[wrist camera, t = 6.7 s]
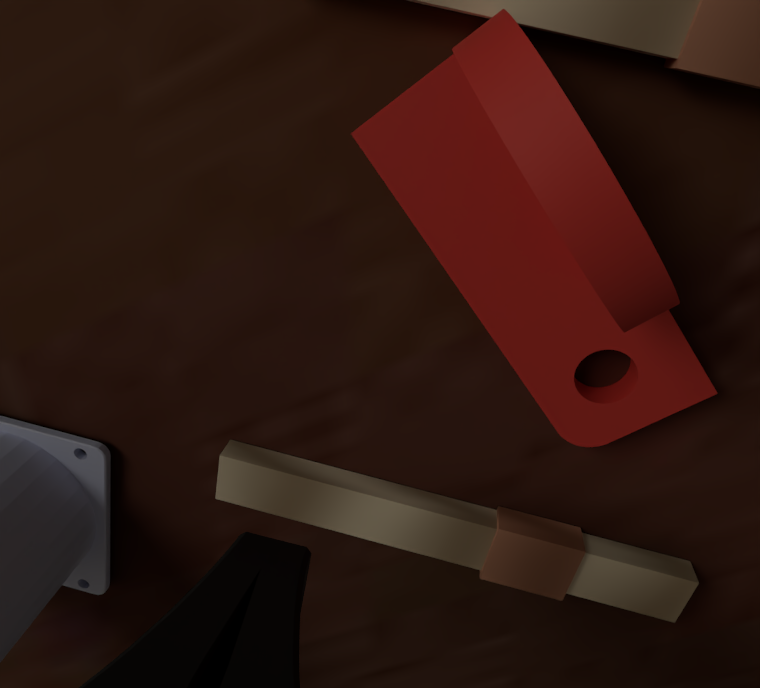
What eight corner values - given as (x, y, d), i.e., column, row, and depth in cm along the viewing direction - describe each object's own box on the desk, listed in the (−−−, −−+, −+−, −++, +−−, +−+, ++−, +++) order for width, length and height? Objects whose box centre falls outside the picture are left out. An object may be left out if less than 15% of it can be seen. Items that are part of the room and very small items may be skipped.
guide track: (225, 485, 23) (212, 506, 22) (294, -132, 15) (279, -146, 14) (664, 604, 23) (673, 631, 22) (1009, 22, 14) (1052, 19, 13)
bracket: (358, 129, 17) (272, 178, 10) (497, 21, 16) (509, -8, 9) (570, 438, 20) (617, 640, 13) (705, 375, 19) (838, 567, 12)
